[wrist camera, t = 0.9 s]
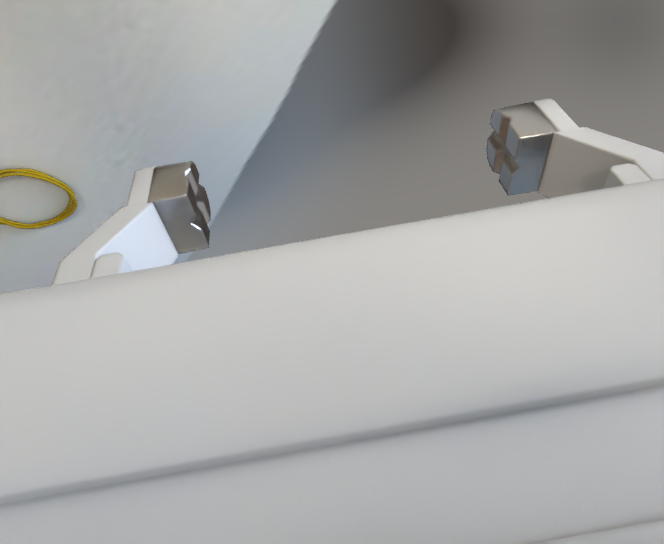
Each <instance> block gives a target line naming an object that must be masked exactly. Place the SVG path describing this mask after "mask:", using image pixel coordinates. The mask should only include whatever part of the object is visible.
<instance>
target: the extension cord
mask: <svg viewBox="0 0 664 544" xmlns="http://www.w3.org/2000/svg"><path fill="white" fill-rule="evenodd" d="M10 172H21V173H10ZM4 173H7V174H4ZM0 174H2V175H0V178H2V177H6V176H13V175H19V176H28V177H33V178H37V179H41V180H45V181H47V182H50V183H53V184H55V185H57V186H59V187H61V188H63V189H64V190H65V191H67V193H68V195H69V204H68V206H67V207H66V209H65V210H64V211H63V212H62V213H61V214H60V215H58V216H57V217H55V218H53V219H51V220H48V221H44V222H39V223H35V224H24V223H18V222H14V221H10V220H7V219H4V218H1V217H0V224H5V225H10V226H12V227H16V228H23V229H31V228H40V227H45V226H49V225H52V224H55V223H57V222H60V221H62V220H64V219H66V218H67V217H69V216H70V215H71V214H72V213H73V212H74V211H75V209H76V207H77V200H76V198H75V194H74V192H73V191H72V189H71V188H70V187H68V186H67V185H66V184H64V183H62V182H61V181H59V180H57V179H55V178H53V177H51V176H49V175H47V174H44V173H42V172H39V171H36V170H32V169H5V170H0ZM72 198H73V202H72ZM71 203H72V205H71ZM70 206H71V208H70ZM73 207H74V208H73ZM69 208H70V209H69ZM68 209H69V211H68ZM67 211H68V212H67ZM66 212H67V213H66Z"/></svg>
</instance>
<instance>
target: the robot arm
mask: <svg viewBox="0 0 664 544" xmlns="http://www.w3.org/2000/svg"><path fill="white" fill-rule="evenodd" d="M490 125H491V126H492V128H493V130H494V132H492V134H491V135H490V136H489V138H488V140H487V149H486V150H487V159H488V162H489V166H490V167H491V169H492V171H493V172H496V173H498V174H500V177H499V182H500V184H501V185H502V187H503V189H504V190H505V192H506V193H507V195H515V194H522V193H529V192H535V191H539V193H540V194H542V195H543V196H545V197H547V199H542V200H536V201H530V202H524V203H519V204H513V205H507V206H502V207H496V208H491V209H485V210H479V211H473V212H467V213H462V214H456V215H450V216H445V217H439V218H434V219H428V220H422V221H416V222H410V223H405V224H399V225H393V226H388V227H382V228H377V229H371V230H365V231H359V232H354V233H348V234H342V235H336V236H331V237H325V238H319V239H313V240H308V241H302V242H296V243H291V244H285V245H280V246H273V247H268V248H262V249H256V250H251V251H245V252H239V253H234V254H228V255H222V256H216V257H210V258H205V259H199V260H193V261H188V262H182V263H176V264H173V263H174V261H175V260H176V259H177V257H178V256H179V255H178V254H181V253H186V252H191V251H196V250H201V249H206V248H209V237H210V230H209V228H208V225H207V224H208V223H209V221H210V218H211V212H210V205H209V200H208V197H207V193H206V191H205V188H204V187H203V186H201V185H200V184H199V173H198V170H197V168H196V165H195V164H194V162H193V161H189V162H183V163H176V164H170V165H163V166H157V167H150V168H144V169H139V170H137V171H135V173H134V177H133V181H132V185H131V190H130V194H129V198H128V202H127V206H126V207H122V208H120V209H119V210H118V211H117V212H115V213H114V214H113V215H112V216H111V217H110V218H109V219H107V220H106V221H105V222H104V223H103V224H102V225H101V226H99V227H98V228H97V229H96V230H95V231H94V232H93V233H91V234H90V235H89V236H88V237H87V238H86V239H85V240H83V241H82V242H81V243H80V244H79V245H78V246H77V247H75V248H74V249H73V250H72V251H71V252H70V253H68V254H67V255H66V256H65V257H64V258H63V259H62V260H60V262H59V265H58V267H57V270H56V273H55V276H54V279H53V282H52V285H50V286H45V287H39V288H33V289H27V290H22V291H16V292H10V293H5V294H0V544H664V153H662V152H659V151H656V150H653V149H650V148H647V147H644V146H641V145H638V144H635V143H632V142H629V141H625V140H623V139H620V138H616V137H613V136H610V135H607V134H604V133H601V132H598V131H595V130H592V129H589V128H586V127H583V128H579V127H578V126H577V125H576V124H575V123H574V122H573V121H572V120H571V119H570V118H569V116H568V115H567V114H566V113H565V112H564V111H563V110H562V109H561V108H560V107H559V106H558V104H557V103H556V102H555V101H554V100H553V99H549V98H548V99H543V100H538V101H534V102H529V103H525V104H520V105H514V106H509V107H504V108H499V109H495V110H493V112H492V115H491V120H490Z"/></svg>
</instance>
